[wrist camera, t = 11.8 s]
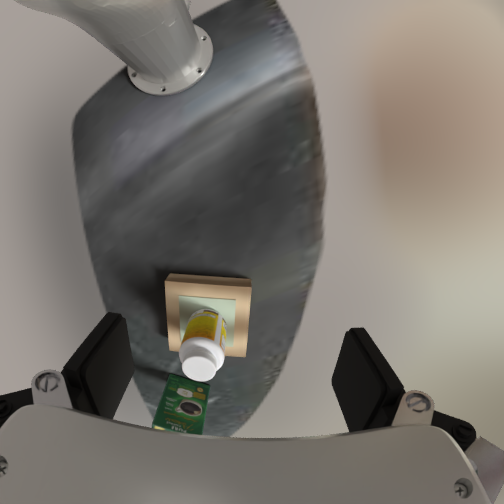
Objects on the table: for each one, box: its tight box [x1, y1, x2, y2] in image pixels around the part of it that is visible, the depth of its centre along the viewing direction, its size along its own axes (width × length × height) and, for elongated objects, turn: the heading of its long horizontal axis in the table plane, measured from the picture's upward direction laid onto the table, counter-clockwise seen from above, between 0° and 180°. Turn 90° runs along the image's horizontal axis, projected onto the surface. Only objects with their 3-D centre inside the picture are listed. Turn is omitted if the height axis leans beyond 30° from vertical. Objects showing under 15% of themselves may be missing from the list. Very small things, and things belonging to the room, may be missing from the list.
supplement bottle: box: [179, 309, 227, 381], centre depth 34 cm, size 6×6×10 cm
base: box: [165, 273, 252, 357], centre depth 40 cm, size 12×12×3 cm
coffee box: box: [152, 374, 210, 435], centre depth 40 cm, size 8×3×13 cm, turn 71°
